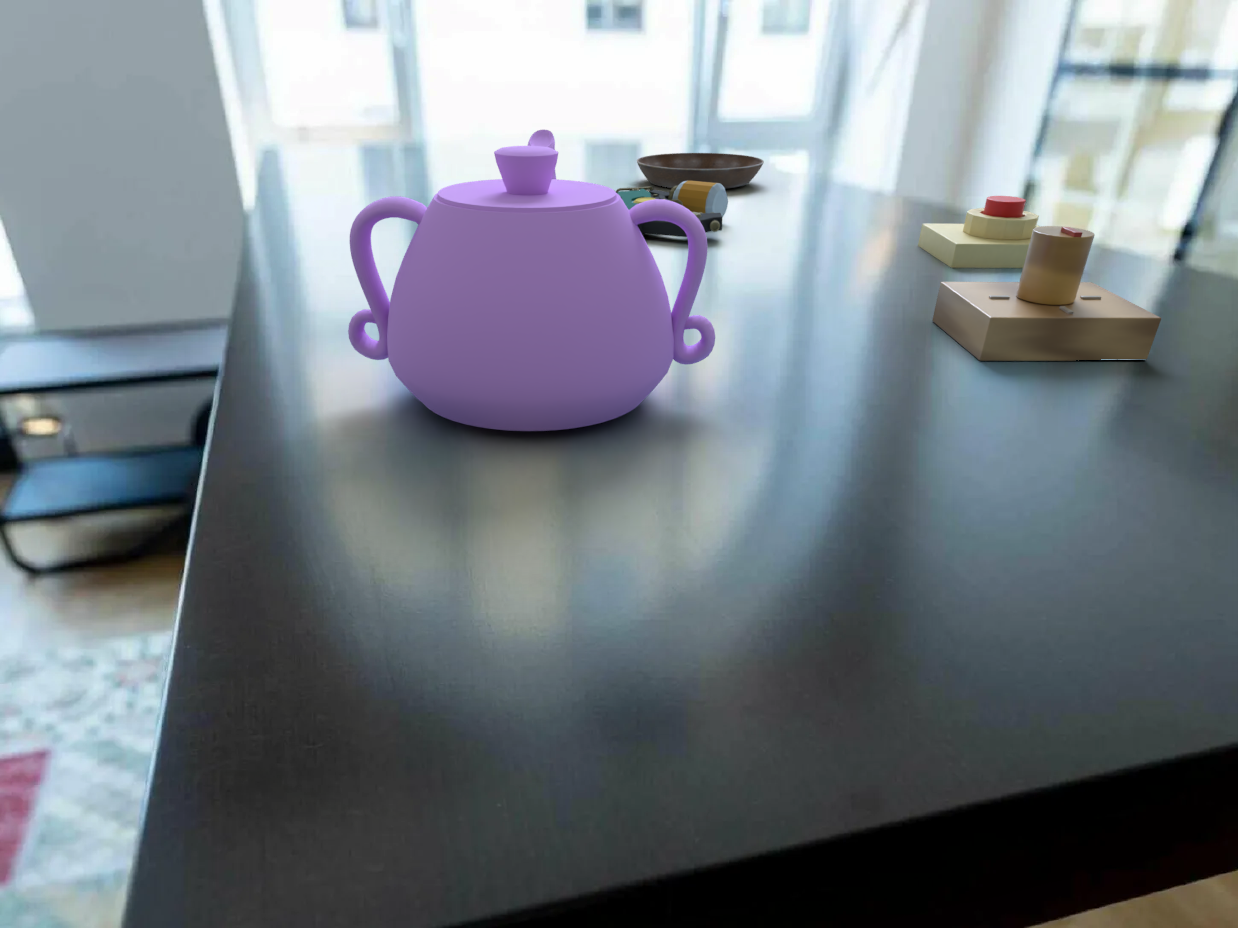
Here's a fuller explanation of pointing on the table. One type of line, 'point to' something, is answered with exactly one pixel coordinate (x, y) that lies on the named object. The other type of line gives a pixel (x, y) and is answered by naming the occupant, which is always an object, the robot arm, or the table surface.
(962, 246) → the button box
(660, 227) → the spray gun
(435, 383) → the purple sugar bowl
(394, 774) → the table surface
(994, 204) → the button
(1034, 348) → the panel
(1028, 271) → the dial knob
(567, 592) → the table surface
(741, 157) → the plant saucer
